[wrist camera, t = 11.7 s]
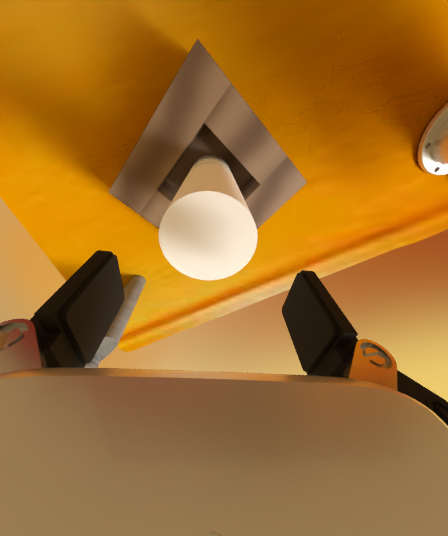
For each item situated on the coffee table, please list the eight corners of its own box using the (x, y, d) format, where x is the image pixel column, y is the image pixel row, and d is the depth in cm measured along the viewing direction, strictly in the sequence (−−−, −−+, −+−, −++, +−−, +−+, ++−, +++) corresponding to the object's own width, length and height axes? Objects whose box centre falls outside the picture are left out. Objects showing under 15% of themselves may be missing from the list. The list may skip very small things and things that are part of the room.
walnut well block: (289, 173, 36) (307, 182, 29) (214, 248, 44) (214, 268, 38) (201, 61, 27) (197, 38, 21) (127, 181, 35) (108, 192, 29)
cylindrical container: (191, 197, 37) (165, 280, 16) (189, 153, 32) (150, 188, 12) (229, 198, 37) (250, 280, 17) (232, 155, 33) (264, 193, 12)
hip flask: (137, 272, 47) (97, 348, 31) (151, 282, 49) (120, 358, 32) (100, 304, 52) (49, 383, 36) (113, 312, 54) (71, 390, 38)
